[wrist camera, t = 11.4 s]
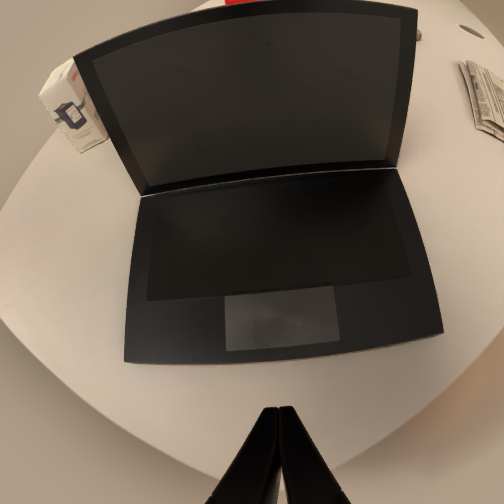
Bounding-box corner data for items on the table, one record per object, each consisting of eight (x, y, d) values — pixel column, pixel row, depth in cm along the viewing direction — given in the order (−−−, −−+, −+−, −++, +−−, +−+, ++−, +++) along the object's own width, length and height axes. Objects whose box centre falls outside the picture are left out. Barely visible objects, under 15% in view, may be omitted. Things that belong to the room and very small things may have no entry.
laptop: (435, 336, 18) (445, 332, 17) (133, 363, 21) (122, 361, 19) (392, 178, 25) (396, 167, 23) (147, 205, 27) (140, 196, 26)
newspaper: (455, 62, 34) (459, 53, 32) (505, 93, 32) (509, 85, 30) (468, 123, 27) (475, 111, 24) (529, 167, 24) (537, 157, 22)
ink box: (85, 122, 37) (51, 69, 27) (111, 108, 37) (80, 51, 27) (79, 154, 33) (35, 96, 23) (108, 139, 33) (67, 75, 23)
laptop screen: (418, 10, 11) (413, 8, 12) (71, 57, 14) (76, 54, 14) (396, 168, 23) (393, 163, 24) (140, 197, 26) (142, 192, 26)
